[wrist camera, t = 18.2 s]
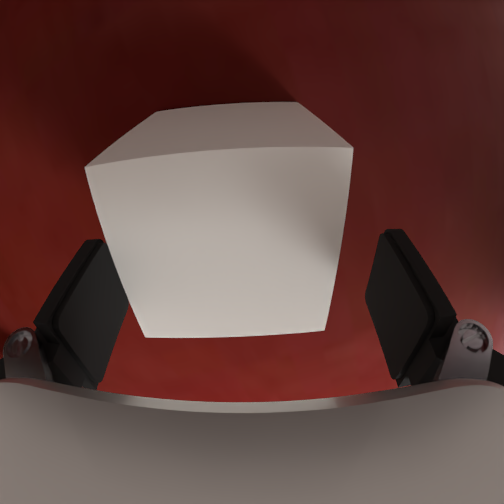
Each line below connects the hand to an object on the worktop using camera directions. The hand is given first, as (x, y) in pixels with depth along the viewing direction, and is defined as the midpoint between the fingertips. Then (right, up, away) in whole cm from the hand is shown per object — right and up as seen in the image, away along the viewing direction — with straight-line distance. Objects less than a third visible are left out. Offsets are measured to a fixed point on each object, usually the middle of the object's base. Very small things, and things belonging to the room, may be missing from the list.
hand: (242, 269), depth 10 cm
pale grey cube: (-1, +5, +7) cm, 9 cm away
